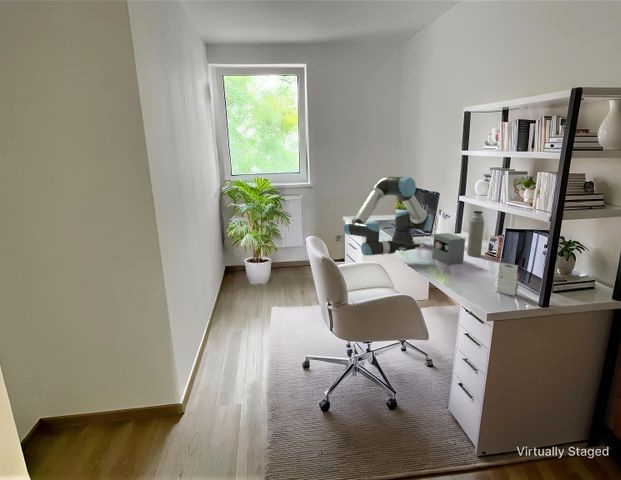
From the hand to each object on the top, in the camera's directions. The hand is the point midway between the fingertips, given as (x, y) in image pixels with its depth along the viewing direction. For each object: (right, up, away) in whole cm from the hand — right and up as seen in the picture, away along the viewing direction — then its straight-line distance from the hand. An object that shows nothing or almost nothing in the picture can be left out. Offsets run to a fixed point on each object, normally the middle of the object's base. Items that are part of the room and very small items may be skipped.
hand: (423, 244), depth 222 cm
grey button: (+10, -2, -2) cm, 10 cm away
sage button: (+14, -3, -5) cm, 15 cm away
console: (+15, -10, +2) cm, 18 cm away
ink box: (+23, -22, -50) cm, 60 cm away
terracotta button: (+12, -1, +4) cm, 12 cm away
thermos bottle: (+36, -7, +13) cm, 39 cm away
